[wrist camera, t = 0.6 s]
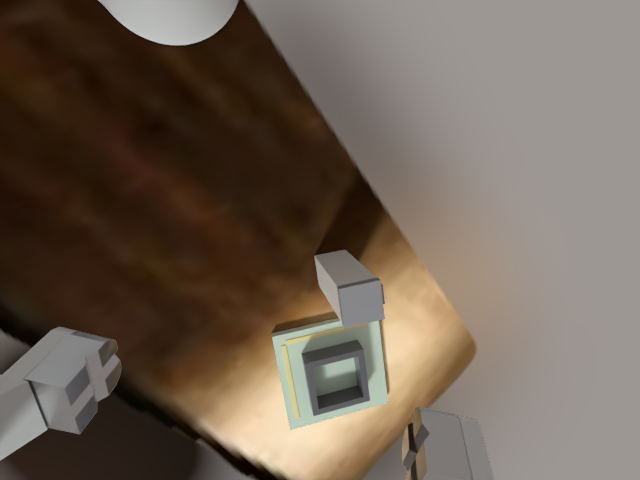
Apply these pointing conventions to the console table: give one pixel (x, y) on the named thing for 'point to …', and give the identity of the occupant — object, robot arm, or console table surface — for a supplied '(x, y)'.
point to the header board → (330, 370)
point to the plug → (350, 288)
